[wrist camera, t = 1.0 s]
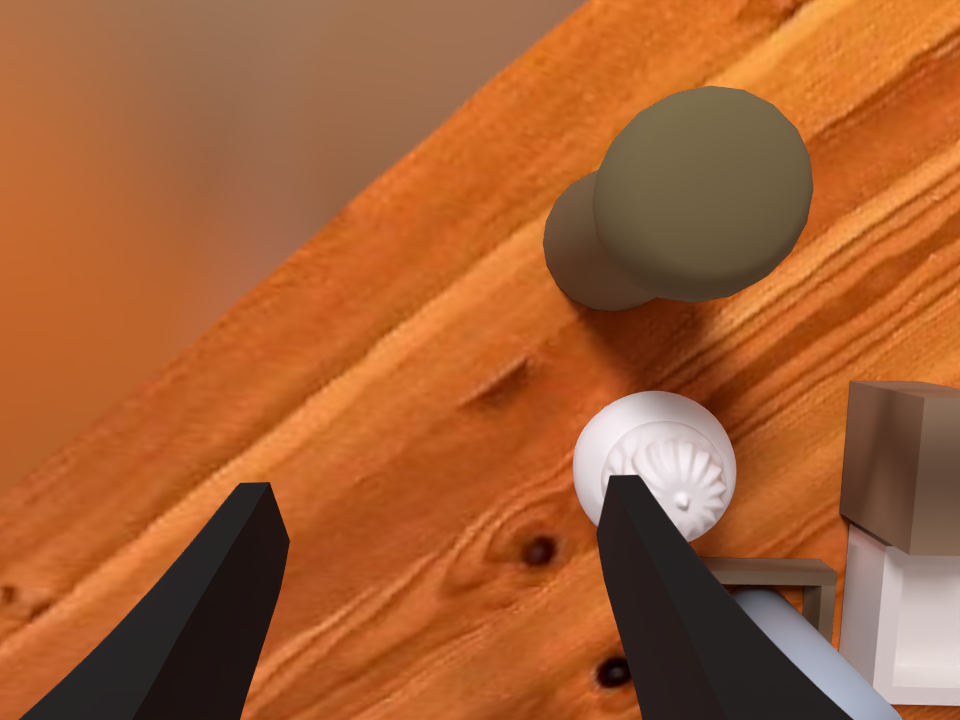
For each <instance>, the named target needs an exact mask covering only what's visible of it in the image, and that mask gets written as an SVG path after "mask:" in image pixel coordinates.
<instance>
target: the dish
mask: <svg viewBox="0 0 960 720" xmlns="http://www.w3.org/2000/svg"><path fill="white" fill-rule="evenodd" d="M839 653H840V654H841V655H842V656H843V657H844V658H845V659H846V660H847V661H848V662H849V663H850V664H851V666H852V667H853V668H854V669H855V670H856V671H857V672H858V673H859V674H860V675H861V676H862V677H863V678H864V679H865V680H866V681H867V682H868V683H869V684H870V685H871V686H872V687H873V688H874V689H875V690H876V691H877V692H878V693H879V694H880V695H881V696H882V697H883V698H884V699H885V700H886V701H887V702H888V703H889V704H907V705H955V706H960V556H913V555H908V554H906V553H904V552H903V551H901V550H900V549H898V548H896V547H895V546H893V545H891V544H890V543H888V542H886V541H885V540H883V539H881V538H880V537H878V536H877V535H875V534H873V533H872V532H870V531H868V530H867V529H865V528H863V527H862V526H860V525H858V524H850V528H849V540H848V551H847V563H846V575H845V587H844V599H843V611H842V622H841V634H840V646H839Z"/></svg>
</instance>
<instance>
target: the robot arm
mask: <svg viewBox="0 0 960 720" xmlns="http://www.w3.org/2000/svg"><path fill="white" fill-rule="evenodd" d="M596 535H597V541H598V547H599V553H600V559H601V565H602V571H603V576H604V581H605V585H606V589H607V592H608V596H609V599H610V603H611V606H612V610H613V613H614V617H615V620H616V624H617V627H618V631H619V634H620V638H621V641H622V645H623V648H624V652H625V655H626V659H627V662H628V666H629V669H630V673H631V676H632V679H633V683H634V686H635V690H636V694H637V698H638V702H639V706H640V710H641V715H642V720H854V719H853V718H851V717H850V716H849V715H848V714H847V713H846V712H845V711H844V710H843V709H841V708H840V707H839V706H838V705H837V704H836V703H835V702H834V701H833V700H832V699H830V698H829V697H828V696H827V695H826V694H825V693H824V692H823V691H822V690H821V689H820V688H819V687H817V686H816V685H815V684H814V683H813V682H812V681H811V680H810V679H809V678H808V677H807V676H806V675H805V674H804V673H803V672H802V671H801V670H800V669H799V668H798V667H797V666H796V665H795V664H794V663H793V662H792V661H791V660H790V659H789V658H788V657H787V656H786V655H785V654H784V653H783V652H782V651H781V650H780V649H779V648H778V647H777V646H776V645H775V644H774V643H773V641H772V640H771V639H770V638H769V637H768V636H767V635H766V634H765V633H764V632H763V631H762V630H761V629H760V628H759V627H758V626H757V624H756V623H755V622H754V621H753V620H752V619H751V618H750V617H749V616H748V614H747V613H746V612H745V611H744V610H743V609H742V608H741V607H740V605H739V604H738V603H737V602H736V601H735V600H734V598H733V597H732V596H731V595H730V594H729V593H728V592H727V590H726V589H725V588H724V587H723V586H722V584H721V583H720V582H719V581H718V580H717V578H716V577H715V576H714V575H713V574H712V572H711V571H710V570H709V569H708V567H707V566H706V565H705V564H704V562H703V561H702V560H701V558H700V557H699V556H698V555H697V553H696V552H695V551H694V550H693V548H692V547H691V546H690V545H689V543H688V542H687V541H686V539H685V538H684V537H683V535H682V534H681V533H680V531H679V530H678V529H677V527H676V526H675V525H674V523H673V522H672V520H671V519H670V518H669V516H668V515H667V514H666V512H665V511H664V509H663V508H662V507H661V505H660V504H659V502H658V501H657V500H656V498H655V497H654V495H653V494H652V492H651V491H650V489H649V488H648V487H647V485H646V484H645V482H644V481H643V479H642V478H641V477H640V476H639V475H610V476H609V481H608V485H607V489H606V494H605V498H604V502H603V507H602V511H601V515H600V520H599V524H598V528H597V533H596ZM289 543H290V540H289V537H288V534H287V531H286V528H285V525H284V523H283V520H282V517H281V514H280V511H279V508H278V505H277V502H276V499H275V496H274V494H273V491H272V488H271V485H270V482H260V483H240V484H239V485H238V486H237V487H236V488H235V489H234V490H233V491H232V493H231V494H230V495H229V496H228V498H227V499H226V500H225V501H224V503H223V504H222V505H221V506H220V508H219V509H218V510H217V511H216V513H215V514H214V515H213V516H212V518H211V519H210V520H209V521H208V523H207V524H206V525H205V526H204V528H203V529H202V530H201V531H200V532H199V534H198V535H197V536H196V537H195V538H194V540H193V541H192V542H191V543H190V545H189V546H188V547H187V548H186V549H185V550H184V552H183V553H182V554H181V555H180V556H179V557H178V559H177V560H176V561H175V562H174V563H173V564H172V566H171V567H170V568H169V569H168V570H167V571H166V573H165V574H164V575H163V576H162V577H161V578H160V580H159V581H158V582H157V583H156V584H155V585H154V586H153V588H152V589H151V590H150V591H149V592H148V593H147V594H146V595H145V596H144V597H143V598H142V599H141V601H140V602H139V603H138V604H137V605H136V606H135V607H134V608H133V609H132V610H131V611H130V612H129V614H128V615H127V616H126V617H125V618H124V619H123V620H122V621H121V622H120V623H119V624H118V625H117V626H116V627H115V629H114V630H113V631H112V632H111V633H110V634H109V635H108V636H107V637H106V638H105V639H104V640H103V641H102V642H101V643H100V644H99V645H98V646H97V647H96V648H95V649H94V650H93V651H92V652H91V653H90V654H89V655H88V656H87V657H86V658H85V659H84V660H83V661H82V662H81V663H80V664H79V665H77V666H76V667H75V668H74V669H73V670H72V671H71V672H70V673H69V674H68V675H67V676H66V677H65V678H64V679H63V680H62V681H61V682H60V683H59V684H58V685H57V686H55V687H54V688H53V689H52V690H51V691H50V692H49V693H48V694H47V695H45V696H44V697H43V698H42V699H41V700H40V701H39V702H38V703H37V704H36V705H34V706H33V707H32V708H31V709H30V710H29V711H28V712H27V713H26V714H25V715H23V716H22V717H21V718H20V719H19V720H240V718H241V714H242V710H243V707H244V703H245V700H246V697H247V694H248V691H249V687H250V684H251V681H252V678H253V675H254V672H255V669H256V666H257V662H258V659H259V656H260V653H261V650H262V647H263V644H264V641H265V637H266V634H267V631H268V628H269V625H270V622H271V619H272V615H273V612H274V609H275V606H276V603H277V599H278V596H279V593H280V589H281V585H282V580H283V575H284V570H285V565H286V559H287V554H288V548H289Z"/></svg>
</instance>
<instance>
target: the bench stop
mask: <svg viewBox="0 0 960 720" xmlns="http://www.w3.org/2000/svg"><path fill="white" fill-rule="evenodd" d="M839 513H840V514H842V515H844V516H845V517H847V518H849V519H850V520H852V521H854V522H855V523H857V524H858V525H860V526H862V527H863V528H865V529H867V530H868V531H870V532H872V533H873V534H875V535H877V536H878V537H880V538H881V539H883V540H885V541H886V542H888V543H890V544H891V545H893V546H895V547H896V548H898V549H900V550H901V551H903V552H904V553H906V554H908V555H913V556H960V389H957V388H952V387H946V386H941V385H936V384H930V383H925V382H904V381H850V391H849V403H848V415H847V427H846V439H845V451H844V464H843V476H842V488H841V500H840V512H839Z"/></svg>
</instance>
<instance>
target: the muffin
mask: <svg viewBox="0 0 960 720" xmlns="http://www.w3.org/2000/svg"><path fill="white" fill-rule="evenodd" d="M610 475H639V476H640V477H641V478H642V479H643V481H644V482H645V484H646V485H647V487H648V488H649V489H650V491H651V492H652V494H653V495H654V497H655V498H656V500H657V501H658V502H659V504H660V505H661V507H662V508H663V509H664V511H665V512H666V514H667V515H668V516H669V518H670V519H671V520H672V522H673V523H674V525H675V526H676V527H677V529H678V530H679V531H680V533H681V534H682V535H683V537H684V538H685V539H686V541H687V542H690V541H692V540H694V539H696V538H698V537H700V536H701V535H703V534H704V533H706V532H707V531H708V530H709V529H711V528H712V527H713V526H714V525H715V524H716V523H717V522H718V520H719V519H720V518H721V517H722V515H723V514H724V512H725V511H726V509H727V507H728V505H729V503H730V501H731V498H732V496H733V493H734V489H735V484H736V460H735V455H734V451H733V448H732V445H731V442H730V440H729V437H728V435H727V433H726V431H725V430H724V428H723V427H722V425H721V424H720V423H719V421H718V420H717V419H716V418H715V416H714V415H712V414H711V413H710V412H709V411H708V410H707V409H706V408H704V407H703V406H701V405H700V404H698V403H697V402H695V401H693V400H691V399H689V398H687V397H684V396H682V395H679V394H675V393H671V392H665V391H645V392H639V393H635V394H631V395H628V396H625V397H623V398H621V399H618V400H616V401H614V402H613V403H611V404H609V405H608V406H605V408H604V409H602V410H601V411H600V412H599V413H598V414H596V415H595V416H594V417H593V418H592V419H591V420H590V421H589V423H588V424H587V425H586V426H585V428H584V429H583V431H582V432H581V434H580V436H579V438H578V441H577V443H576V447H575V451H574V457H573V479H574V485H575V489H576V493H577V496H578V499H579V501H580V504H581V506H582V508H583V510H584V511H585V513H586V514H587V516H588V517H589V518H590V520H591V521H592V522H593V523H594V524H595V525H596V526H597V527H598V524H599V520H600V515H601V511H602V507H603V502H604V498H605V494H606V489H607V485H608V481H609V476H610Z"/></svg>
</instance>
